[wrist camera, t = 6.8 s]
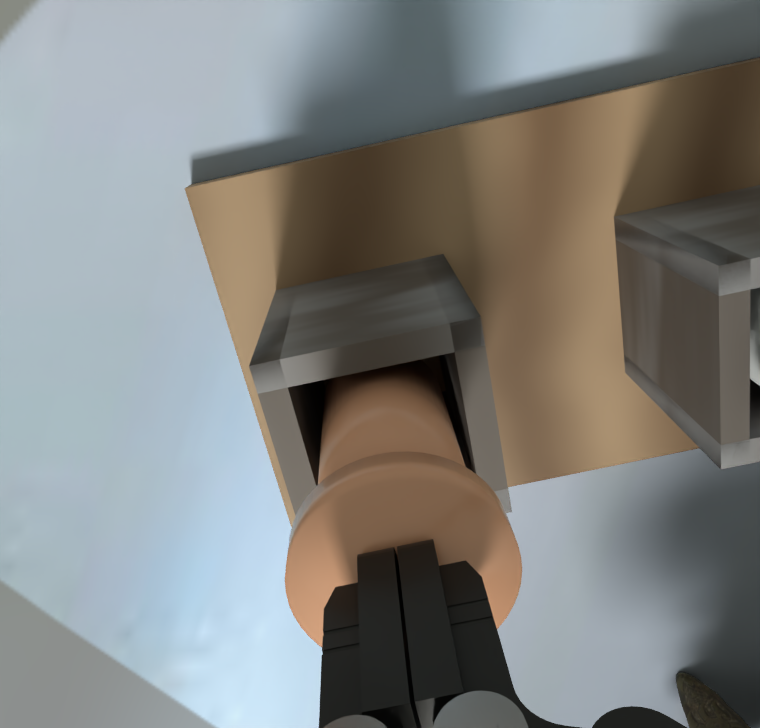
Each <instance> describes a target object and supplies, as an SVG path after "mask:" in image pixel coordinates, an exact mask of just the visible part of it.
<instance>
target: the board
mask: <svg viewBox="0 0 760 728" xmlns="http://www.w3.org/2000/svg"><path fill="white" fill-rule="evenodd" d="M185 191H186V194H187V197H188V200H189V204H190V207H191V210H192V213H193V216H194V219H195V223H196V226H197V229H198V232H199V235H200V238H201V242H202V245H203V248H204V251H205V254H206V257H207V261H208V264H209V267H210V270H211V273H212V276H213V280H214V283H215V286H216V289H217V292H218V295H219V299H220V302H221V305H222V308H223V311H224V314H225V318H226V321H227V324H228V327H229V330H230V333H231V337H232V340H233V343H234V346H235V349H236V353H237V356H238V359H239V362H240V365H241V368H242V372H243V375H244V378H245V381H246V384H247V387H248V391H249V394H250V397H251V400H252V403H253V406H254V410H255V413H256V416H257V419H258V422H259V425H260V429H261V432H262V435H263V438H264V441H265V444H266V448H267V451H268V454H269V457H270V460H271V463H272V467H273V470H274V473H275V476H276V479H277V482H278V486H279V489H280V492H281V495H282V498H283V502H284V505H285V508H286V511H287V514H288V517H289V521H290V524H291V527H292V525H293V521H294V519H295V517H296V514H297V512H298V510H299V508H300V507H301V505H302V503H303V502H304V500H305V499H306V497H307V496H308V495H309V494H310V493H311V491H312V490H313V489H314V488H315V487H316V486H317V485H318V477H319V463H320V449H321V435H322V421H323V407H324V395H325V390H326V387H327V384H328V382H329V380H330V378H335V377H340V376H344V375H349V374H354V373H359V372H363V371H368V370H373V369H377V368H382V367H387V366H392V365H396V364H401V363H406V362H411V361H415V360H420V359H421V360H422V361H423V362H425V363H426V364H427V365H428V366H429V367H430V369H431V370H432V371H433V373H434V374H435V376H436V378H437V380H438V382H439V385H440V388H441V391H442V394H443V397H444V401H445V404H446V407H447V410H448V413H449V416H450V419H451V423H452V426H453V429H454V432H455V435H456V438H457V441H458V445H459V448H460V451H461V454H462V457H463V460H464V463H465V467H466V468H468V469H470V470H471V471H473V472H474V473H476V474H477V475H478V476H479V477H480V478H482V479H483V480H484V481H485V482H486V483H487V484H488V485H489V486H490V487H491V489H492V490H493V491H494V492H495V493H496V495H497V497H498V498H499V500H500V501H501V503H502V505H503V508H504V510H505V512H506V513H509V512H512V510H511V504H510V498H509V491H508V487H511V486H516V485H521V484H526V483H531V482H536V481H541V480H546V479H550V478H555V477H560V476H565V475H570V474H575V473H580V472H585V471H590V470H595V469H599V468H604V467H609V466H614V465H619V464H624V463H629V462H634V461H639V460H644V459H648V458H653V457H658V456H663V455H668V454H673V453H678V452H683V451H688V450H693V449H697V448H700V449H701V450H702V451H703V452H704V453H705V454H706V455H707V456H708V457H709V458H710V459H711V460H712V461H713V462H714V463H715V464H716V465H717V466H718V467H719V468H720V469H726V468H731V467H736V466H741V465H746V464H751V463H756V462H760V386H759V385H758V384H756V383H755V382H753V381H752V380H751V379H750V289H755V288H760V57H758V58H754V59H749V60H745V61H740V62H736V63H731V64H727V65H722V66H718V67H714V68H709V69H705V70H700V71H696V72H691V73H687V74H682V75H678V76H673V77H669V78H664V79H660V80H655V81H651V82H647V83H642V84H638V85H633V86H629V87H624V88H620V89H615V90H611V91H606V92H602V93H597V94H593V95H589V96H584V97H580V98H575V99H571V100H566V101H562V102H557V103H553V104H548V105H544V106H539V107H535V108H530V109H526V110H522V111H517V112H513V113H508V114H504V115H499V116H495V117H490V118H486V119H481V120H477V121H472V122H468V123H464V124H459V125H455V126H450V127H446V128H441V129H437V130H432V131H428V132H423V133H419V134H414V135H410V136H405V137H401V138H397V139H392V140H388V141H383V142H379V143H374V144H370V145H365V146H361V147H356V148H352V149H347V150H343V151H339V152H334V153H330V154H325V155H321V156H316V157H312V158H307V159H303V160H298V161H294V162H289V163H285V164H280V165H276V166H272V167H267V168H263V169H258V170H254V171H249V172H245V173H240V174H236V175H231V176H227V177H222V178H218V179H213V180H209V181H205V182H200V183H196V184H191V185H190V186H188V187H186V188H185Z"/></svg>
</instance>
